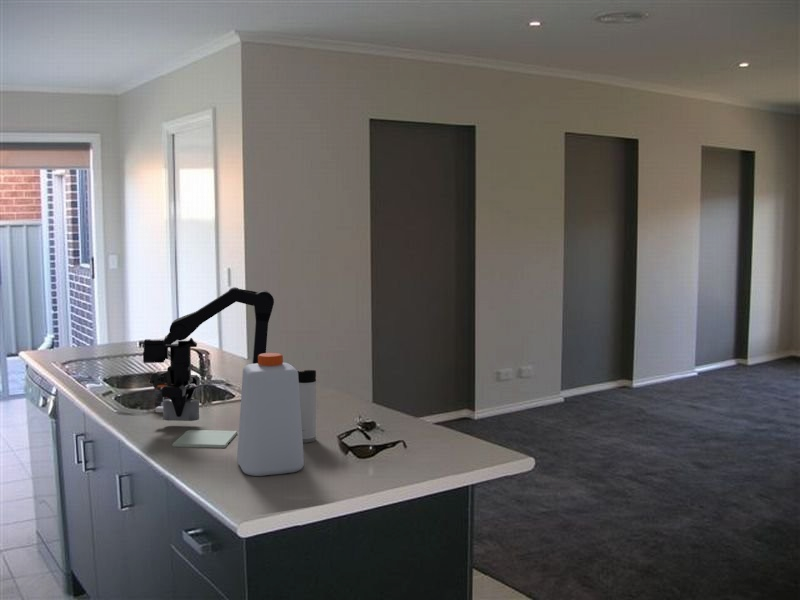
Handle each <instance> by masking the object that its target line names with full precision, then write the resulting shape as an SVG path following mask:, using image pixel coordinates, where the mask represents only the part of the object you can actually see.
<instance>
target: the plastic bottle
mask: <svg viewBox="0 0 800 600" xmlns="http://www.w3.org/2000/svg"><path fill="white" fill-rule="evenodd" d="M298 371H299V370H297V369H296V368H295V367H294V366H293V365H291V364H290V363H288V362H284V356H283V354H281V353H278V352H266V353H263V354H259V355H258V363H255V364H252V363H249V364H246V365H245V366H244V367H243V369H242V379H241V381H242V382H241V393H240V394H241V396H240V397H241V398H240V410H239V411H240V413H239V424H238V425H239V427H238V440H237V457H236V460H237V463H238V465H239V467H240V468H241V471H242V472H243V473H244V474H245V475H249V476H250V477H251V476H252V477H263V476H265V477H266V476H275V475H283V474H285V475H286V474H292V473H296V472H300V471H301V470H302V469H303V467H304V465H305V457H304V456H305V455H304V443H303V439H302V424H301V409H300V394H299V379H298Z"/></svg>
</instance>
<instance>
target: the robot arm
mask: <svg viewBox="0 0 800 600" xmlns="http://www.w3.org/2000/svg"><path fill="white" fill-rule="evenodd" d="M235 303H240V304H243V305H247V306H248V305H249V306H252V307H253V310H254V311H253V312H254V319H255V323H254V336H253V337H254V338H253V347H252V348H253V351H252V363H251V364H255V363H258V355H259V354H263V353H267V344H268V330H269V323H270V318H271V316H272V311H273V307H274V303H275V299H274V297H273V295H272V294H271V293H270V292H269V291H268V290H267V289H266V290H265V289H260V290H258V291H253V290H249V289H242V288H238V287H237V286H236V287H234V286H233V287H230V288H229V290H228V291H226V292H224V293H223V294H221V295H219V296H218V297H216V298H215V299H213V300H212V301H210V302H208V303H207V304H206V305H203V307H201V308H199V309H198V310H196V311H194V312H191V313H189V314H186V315H185V314H184V315H183V316H181V317H178V318H176V319H174V320H173V321H172V322H171V324H170V326H169V332H168V334H167V335H165V336H164V338H163V339H147V338H145V339H144V340H143V343H144V344H143V352H142V361H143V363H144V364H156V363H157V364H161V363H163V364H164V363H165V361H166V360H168V359H169V358H170V359H169V361H170V365H169V366H168V367H167V370H166V371H162V372H158V371H156V372H152V374H150V377H149V383H150V384H151V385H152V386H153V388H155V387H157V386H158V385H161V384H164V383H167V385H166V386H164V387H163V388H162V389H161V397H168V398H169V399H171V401H172V403H173V406H174V409H175V412H176V415H177V417H181V415H182V412H183V409H184V406H185V403H186V400H187V399H193V396H194V395H195V392H196V390H197V387H198V386H199V385H200V384H201V381H200V380H201V379H200V377H199V376H198V375H197V374H192V369H193V368H194V366H193V365H194V364H193V363H192V362H191V361H192V359H191V357H192V355H191V354H192V353H191V351H192V349H191V348H196V347H198V343H197V342H196V341H195V340H194V339H193V338H192V337H190V338H189V336H191V334H193V333H194V332H195V331H197V329H198V328H199V327H200V326H201V325H202V324H203V323H205V322H206V321H208V320H209V319H211V318H212V317H214V316H215V315H217V314H218V313H220V312H222V311H224V310H225V309H226V308H228V307H230V306H232V305H233V304H235ZM187 338H189V340H186V339H187ZM176 341H178V342H177V343H175V342H176ZM169 351H170V352H169ZM169 356H170V357H169ZM171 384H173V385H171ZM192 385H195V386H192Z"/></svg>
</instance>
